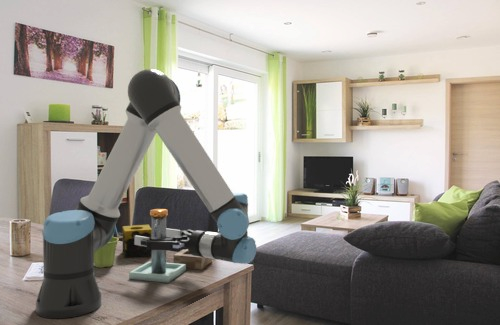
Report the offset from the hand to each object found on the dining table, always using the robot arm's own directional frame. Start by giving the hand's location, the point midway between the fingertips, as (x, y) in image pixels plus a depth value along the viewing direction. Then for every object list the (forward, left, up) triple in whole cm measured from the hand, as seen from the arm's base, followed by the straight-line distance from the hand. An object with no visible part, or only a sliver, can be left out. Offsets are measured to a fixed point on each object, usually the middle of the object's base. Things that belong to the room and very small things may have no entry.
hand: (150, 236), depth 137 cm
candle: (+20, +16, -12) cm, 28 cm away
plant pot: (+3, +19, -12) cm, 23 cm away
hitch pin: (-1, -3, -11) cm, 12 cm away
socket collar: (+13, -9, -12) cm, 20 cm away
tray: (-1, -3, -12) cm, 12 cm away
